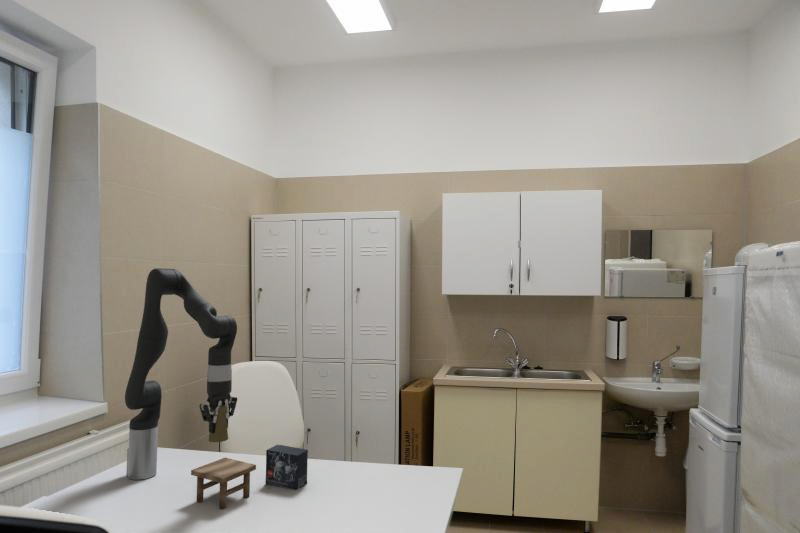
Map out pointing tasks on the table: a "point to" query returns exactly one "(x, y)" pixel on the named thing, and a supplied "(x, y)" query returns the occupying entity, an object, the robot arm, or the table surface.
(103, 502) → the table surface
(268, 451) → the small box
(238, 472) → the stool
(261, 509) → the table surface
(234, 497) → the table surface
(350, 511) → the table surface
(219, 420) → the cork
